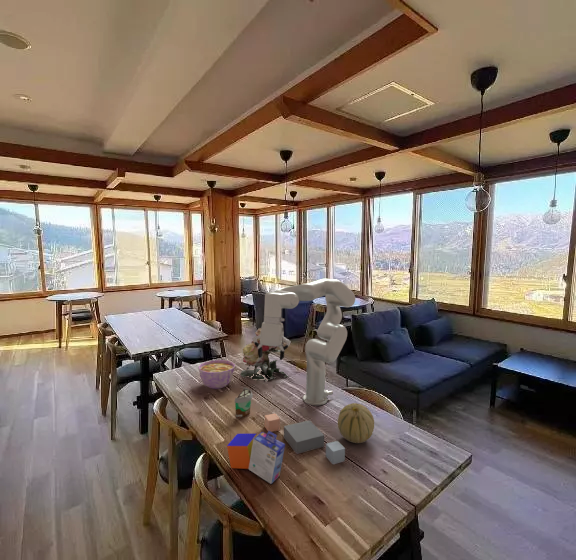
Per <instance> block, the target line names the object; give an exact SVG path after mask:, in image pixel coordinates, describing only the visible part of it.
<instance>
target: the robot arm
mask: <svg viewBox="0 0 576 560" xmlns="http://www.w3.org/2000/svg"><path fill="white" fill-rule="evenodd" d="M321 297H325V302H326V308H327V309H326V312H325V315H324V317H323V319H322V320H321V322H320V324H319V326H318V329H317V331H316V334H317V337H319V338H320V339H318V338H312V339H311V338H310V339H309V340H307V342H306V343H305V346H304V352H305V358H306V384H305V385H306V386H305V389H306V390H305V394H304V395H302V400H303V402H304V403H306V404H307V405H311V406H322V405H325V404H326V403H328V401H329V399H328V396H333V395H334V391H333V390H328V389H326V363H328V364H331V363H332V364H333V363H334V362H335V361H336V360H337V358H338V356H339V354H340V353H341V351H342V349H343V347H344V345H345V343H346V341H347V337H348V330H347V328H346V326H344V325H343V324H340V323H341V321H342V318H343V315H342V310H341V307H343V308H350V307H353V306H354V305H355V302H356V295H355V293H354V291H352V290H351V289H350V288H349V287H348V286H347V285H346V284H345V283H343V282H342V281H340V280H339V279H335V278H325V277H323V278H320V279H317V280H314V281H311V282H307V283H302V284H297V285H289V286H286V287H285V286H284V287H281V288H279V289H276V290H274V291H269V292H266V293H265V294H264V312H263V313H264V315H263V322H262V323H261V327H260V328H261V333H260V335H259V336H255V337H253V338H252V341H254V344H255V345H256V347H257V348H258V355H259V358H261V357H262V345H266V346H276V347H277V348H279V350H281V351H280V352H279V361H282V360H283V359H285V351H286V350H287V349H288V348H289V347H290V344H291V342H292V341H291V340H290V339H288V338H287V337H285V336H284V333H285V332H284V324H283V323H282V322H285V318H283V317H282V309H288V310H289V309H294V308H296V307H297V306H298V305H299V302H308V301H309V302H310V301H314V300H316V299H319V298H321ZM259 338H260V344H259V343H258V342H257V339H259ZM321 339H322V340H321ZM284 342H285V343H286V344H285V345H284Z"/></svg>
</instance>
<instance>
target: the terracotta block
mask: <svg viewBox="0 0 576 560" xmlns="http://www.w3.org/2000/svg"><path fill="white" fill-rule="evenodd" d="M280 421H281V419H280V417H279V416H278V415H277V414H276V412H275V413H270V414H265V415H264V427H265V429H266V431H267V432H268V431H271V432H272V433H274V432H276V431H277V432H278V431H280V429H281V427H280V426H281V422H280Z"/></svg>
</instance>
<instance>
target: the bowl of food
mask: <svg viewBox="0 0 576 560" xmlns="http://www.w3.org/2000/svg"><path fill="white" fill-rule="evenodd" d="M235 367H236V365H235V363H234V362H232V361H230V360H223V359H218V360H217V359H213V360H209V361H204V362H203V363H201V364H199V365H198V372H199V376H200V379H201V382H202V384H203V385H204V386H206V387H208V388H210V389H212V390H218V389H222V388H224V387H226V386H228V385H229V384H230V383H231V381H232V379H233V374H234V372H235Z"/></svg>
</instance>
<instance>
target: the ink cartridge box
mask: <svg viewBox="0 0 576 560" xmlns="http://www.w3.org/2000/svg"><path fill="white" fill-rule="evenodd" d="M277 437H278V435H277V434H276V433H274V432H271V431H267V432H265V431H261V432H260V433H259V434H257V436H256V437H255V438H254V439H253V445H252V451H251V457H250V463H249V469H248V470H249V471H251V473H254V474H255V475H257V477H259V478H261V479H262V480H264V481H265V482H266V483H269V484H270V485H272V484H273V483H274V482H275V481H276V480H277V479H279V477H280V475H281V469H282V465H283V460H284V459H283V458H284V453H285V447H286V443H284V442H282V441H280V440H279V439H277Z"/></svg>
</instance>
